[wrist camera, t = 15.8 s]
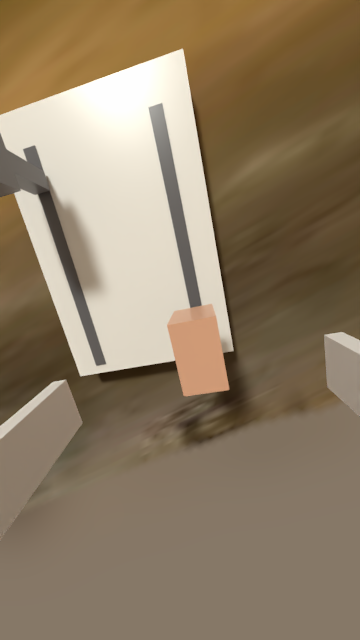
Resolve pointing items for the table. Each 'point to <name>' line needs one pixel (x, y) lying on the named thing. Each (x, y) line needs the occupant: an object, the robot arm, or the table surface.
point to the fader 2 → (198, 350)
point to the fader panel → (120, 212)
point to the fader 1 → (19, 174)
